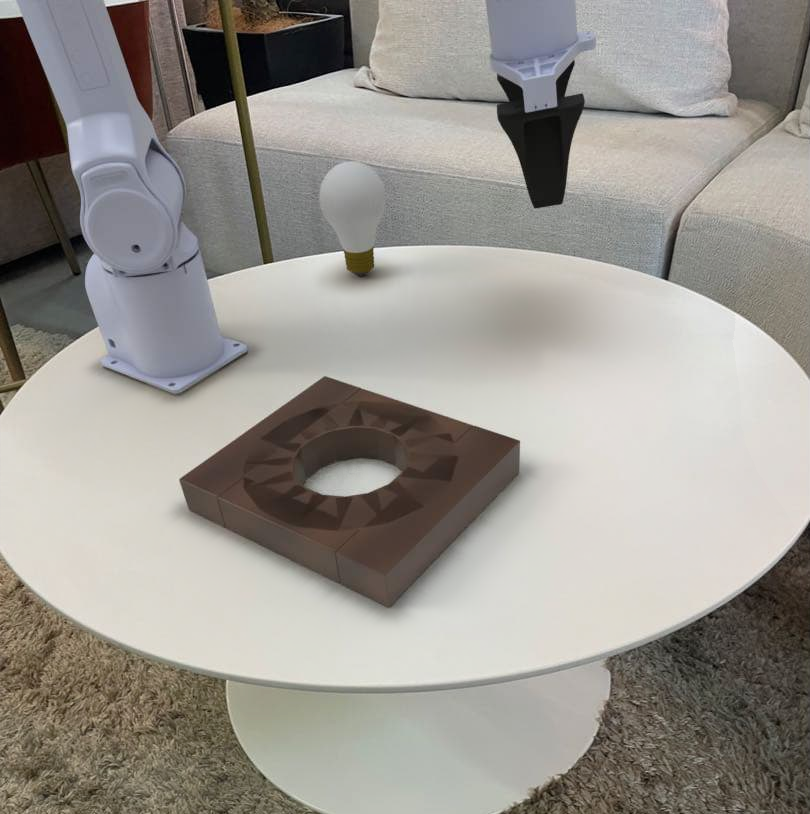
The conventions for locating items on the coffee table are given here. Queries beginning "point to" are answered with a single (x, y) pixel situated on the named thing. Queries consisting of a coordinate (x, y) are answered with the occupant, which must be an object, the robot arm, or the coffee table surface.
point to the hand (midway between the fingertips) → (545, 184)
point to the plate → (364, 513)
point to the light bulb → (354, 211)
